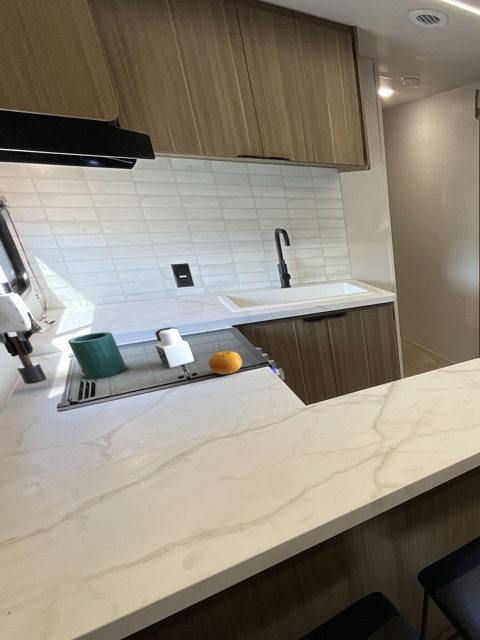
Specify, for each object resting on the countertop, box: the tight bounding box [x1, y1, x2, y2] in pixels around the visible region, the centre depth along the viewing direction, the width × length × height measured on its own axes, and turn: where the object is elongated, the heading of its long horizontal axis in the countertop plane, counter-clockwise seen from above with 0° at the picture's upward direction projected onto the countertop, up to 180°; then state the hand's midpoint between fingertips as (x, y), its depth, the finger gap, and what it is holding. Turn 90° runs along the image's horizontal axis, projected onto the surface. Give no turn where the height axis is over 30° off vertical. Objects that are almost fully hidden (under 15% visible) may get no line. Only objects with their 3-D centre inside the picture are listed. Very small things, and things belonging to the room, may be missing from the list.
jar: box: [67, 331, 127, 379], centre depth 128 cm, size 10×10×12 cm
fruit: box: [208, 350, 243, 375], centre depth 127 cm, size 8×8×8 cm
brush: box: [9, 334, 47, 385], centre depth 116 cm, size 4×4×14 cm
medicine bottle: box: [154, 326, 195, 369], centre depth 135 cm, size 7×7×12 cm
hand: (22, 353), depth 116 cm, fingers closed on brush
